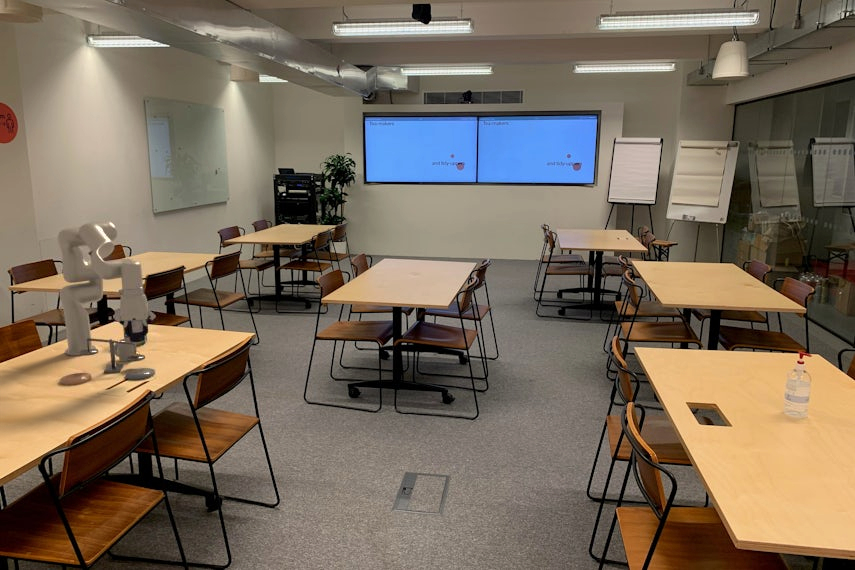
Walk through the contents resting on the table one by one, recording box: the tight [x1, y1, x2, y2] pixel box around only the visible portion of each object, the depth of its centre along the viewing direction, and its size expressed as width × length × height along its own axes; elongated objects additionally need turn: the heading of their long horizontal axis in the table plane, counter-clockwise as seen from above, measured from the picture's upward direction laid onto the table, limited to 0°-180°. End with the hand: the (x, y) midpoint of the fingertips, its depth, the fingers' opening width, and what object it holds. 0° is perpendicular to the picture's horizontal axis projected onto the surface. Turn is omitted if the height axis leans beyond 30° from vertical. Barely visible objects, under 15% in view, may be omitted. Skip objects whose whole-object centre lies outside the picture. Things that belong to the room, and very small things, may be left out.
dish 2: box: [125, 367, 156, 381], centre depth 255 cm, size 11×11×1 cm
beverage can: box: [128, 318, 145, 344], centre depth 251 cm, size 6×6×12 cm
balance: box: [78, 337, 146, 374], centre depth 260 cm, size 8×25×15 cm, turn 105°
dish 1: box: [59, 372, 93, 386], centre depth 249 cm, size 11×11×1 cm
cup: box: [114, 338, 138, 363], centre depth 273 cm, size 7×10×9 cm
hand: (137, 334), depth 251 cm, fingers closed on beverage can, 5 cm apart
